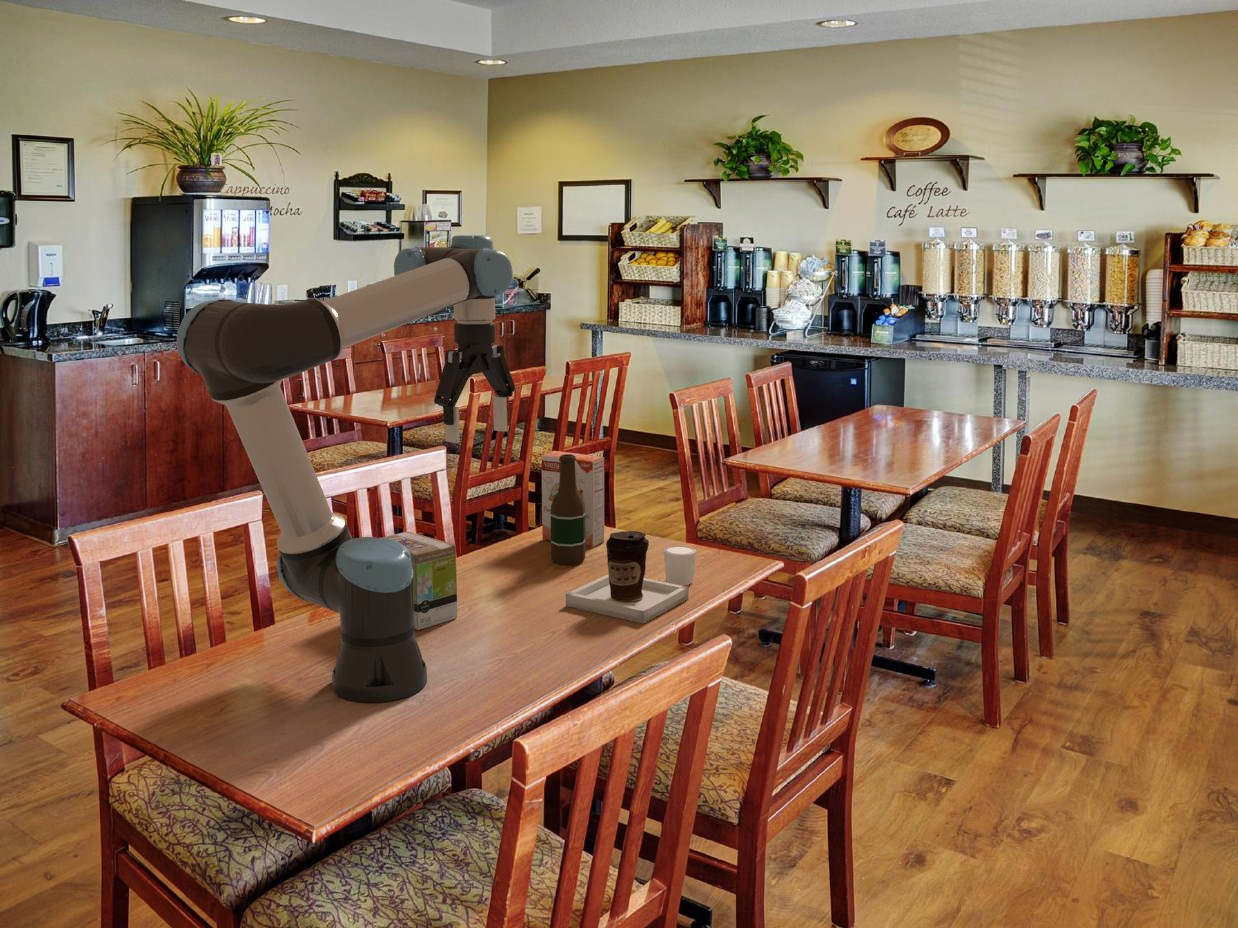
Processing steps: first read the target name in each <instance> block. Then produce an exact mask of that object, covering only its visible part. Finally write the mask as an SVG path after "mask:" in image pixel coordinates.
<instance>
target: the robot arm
mask: <svg viewBox="0 0 1238 928" xmlns="http://www.w3.org/2000/svg"><path fill="white" fill-rule="evenodd" d="M513 272H514V271H513V266H512V262H511V260H510V258H509V257H508V256H507V255H506V254H505V253H504V252H503V251H500V250H497V249H494V241H493V239H492V238H491V236H488V235H483V234H482V235H481V234H480V235H477V234H475V235H472V234H469V235H463V234H462V235H461V234H460V235H454V236H452V237H451V245H450V246H447V247H446V246H444V247H443V246H442V247H440V246H439V247H438V246H430V247H429V246H425V247H423V246H421V247H420V246H415V247H407V248H403V249H401V250H400V251H399V252H398V253H397V254H396V256H395V258H394V262H393V274H394V275H393V276H390V277H389V278H386V279H383V280H380V281H376V282H374V283H370V284H368V285H365V286H363V287H360V288H357V289H354V290H351V291H347V292H345V293H342V294H340V295H337V296H333V297H331V298H328V299H326V300H321V299H319V298H317V297H309V298H306V299H303V300H301V301H297V302H291V303H283V304H281V303H280V304H279V303H278V304H276V303H275V304H273V303H272V304H271V303H270V304H269V303H268V304H267V303H255V302H245V301H244V302H243V301H235V300H233V299H228V298H227V299H225V298H223V299H221V298H220V299H216V300H215V299H214V300H212V299H211V300H206V301H204V302H200V303H199V304H196V305H195V306H193V307H192V308H191V309H189V311H188V312H187V313H186V314H185V315H184V316H183V318H182V320H181V323H180V324H179V327H178V328H177V332H176V347H177V348H176V349H177V351H178V354H179V357H180V358H181V359H180V360H182V362H183V363H184V364H185V366H186V367H188V368H189V369H190V370H191V371H192V372H194V373H196V374H199V375H200V376H201V378H202V380H203V382H204V385H205V387H206V389H207V391H208V394H209V396H210V399H211V400H212V401H214V402H216V403H219V404H221V405H223V406H225V407H226V408H227V410H228V414H229V416H230V418H231V419H232V420H231V421H232V423H233V424H234V427H235V429H236V432H237V433H238V436H239V438H240V440H241V443H242V445H243V447H244V449H245V452H246V455H247V457H248V459H249V461H250V463H251V466H252V468H253V470H254V473H255V474H256V477H257V479H258V481H259V484H260V487H261V489H262V491H263V493H264V495H265V497H266V500H267V502H268V505H269V507H270V509H271V511H272V514H273V517H274V519H275V521H276V522H277V525H278V527H279V530H280V534H279V536H278V538H277V540H276V546H277V550H278V554H279V555H278V558H276V571H277V574H278V578H279V580H280V582H281V584H282V585H283V586H284V588H285V589H286V590H287V591H288V592H289V593H291V594H293V595H294V596H296V597H297V598H298V599H301V600H303V601H305V602H309V603H312V604H314V605H317V606H319V607H322V608H325V609H328V610H330V611H332V612H334V613H338V614H339V621H340V623H339V624H340V639H341V640H340V645H339V646H340V647H339V649H338V653H337V657H336V660H335V666H334V668H333V671H332V672H331V673H332V674H331V683H332V684H331V685H332V687H331V688H332V691H333V692H334V694H335V695H336V696H338V697H340V698H342V699H344V700H349V701H352V702H357V703H359V702H360V703H383V702H391V701H397V700H400V699H403V698H406V697H409V696H412V695H414V694H416V693H418V692H419V691H421V690H422V689H424V688H425V686H426V685H427V683H428V670H427V668H428V667H427V665H426V662H425V661H424V660H423V655H422V652H421V650H420V646H419V644H418V642H417V638H416V634H415V629H414V599H413V575H414V572H413V568H412V561H411V555H410V553H409V551H408V550H407V548H406V547H405V546H403V545H402V544H400V543H398V542H396V541H394V540H391V539H386V538H382V537H380V538H381V539H378V538H379V537H376V536H361V537H354V538H353V537H352V534H351V532H350V529H349V526H348V525H347V522H346V520H345V518H344V516H342V515H341V514H337V513H336V512H332V510H331V507H330V506H329V502H328V501H327V498H326V495H325V493H324V491H323V488H322V486H321V484H320V481H319V479H318V476H317V474H316V470H315V469H314V467H313V464H312V461H311V459H310V456H309V454H308V451H307V449H306V447H305V444H304V442H303V439H302V437H301V434H300V432H299V429H298V427H297V424H296V422H295V419H294V417H293V414H292V412H291V409H290V407H289V405H288V401H287V400H286V398H285V396H284V393H283V390H282V388H281V383H282V382H283V380H285V379H289V378H291V377H294V376H297V375H300V374H303V373H304V372H307V371H309V370H312V369H314V368H317V367H319V366H322V365H324V364H327V363H329V362H333V361H334V360H337V359H338V358H339V357H340V355H341V353H342V351H343V349H346V348H348V347H351V346H353V345H356V344H358V343H362V342H363V341H367V340H368V339H369V340H370V339H372V338H374V337H377V336H379V335H381V334H383V333H386V332H389V331H391V330H394V329H397V328H400V327H401V326H404V325H407V324H410V323H412V322H415V321H417V320H419V319H422V318H425V317H427V316H430V315H432V314H435V313H438V312H440V311H442V310H445V309H449V308H450V307H453V319H454V320H455V321H457V322H455V323H454V325H453V341H454V343H455V344H457V351H456V350H455V351H454V350H446V352H445V353H444V364H443V368H442V372H441V375H440V378H439V381H438V382H439V383H438V385H437V389H436V392H435V395H434V399H433V402H434V404H435V405H438V406H439V407H441V408H442V411H443V412H442V417H443V424H444V428H445V431H444V432H445V442H447V443H454V444H459V443H461V441H460V438H461V436H460V406H456V405H457V402H458V400H459V399H460V396H461V395H462V393H463V390H464V389H465V386H466V384H467V383H468V381H469V378H471V377H472V376H473V375H475V374H479V373H482V374H483V376H484V377H485V379H486V381H487V382H488V384H489V385H490V387H491V388H492V391H493V392H494V393H495V396H492V410H493V412H492V413H493V423H492V424H493V431H497V432H508V411H509V405H508V404H509V401H508V400H509V398H511V397H513V393H515V391H516V386H515V382H514V380H513V377H512V374H511V372H510V368H509V365H508V362H507V359H506V358H505V347H504V345H501V344H494V343H495V342H496V340H497V339H496V324H495V323H494V322H493V321H494V320H495V319H496V297H495V296H500V295H502V294H504V293H506V291H507V290H508V289H509V288H510V286H511V284H512V282H513V281H512V280H513Z"/></svg>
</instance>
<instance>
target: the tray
mask: <svg viewBox="0 0 1238 928" xmlns="http://www.w3.org/2000/svg"><path fill="white" fill-rule="evenodd" d="M689 591H690V588H689V586H681V585H676V584H671V583H667V582H666V581H661V580H657V579H651V578H645V577H644V579H643V585H642V594H643V598H642V599H641V600H637V601H618V600H614V599H612V598H611V594H610V593H611V591H610V584H609V573H607V574H606V575H603V576H601V577H599V578H597V579H594V580H592V581H590V582H589V583H586V584H584V585H581V586H580V587H578V588H576V589H573V590H571V591H568V592H567V593H565V607H569V608H573V609H577V610H581V611H585V612H586V611H587V612H590V613H595V614H600V615H604V616H607V617H612V618H617V619H621V620H625V621H629V622H633V621H634V622H635V623H639V624H642V625H643V623H644V624H646V623H648V622H649V620H650V619H651V620H653V619H655V618H657V617H658V615H659V616H660V615H663V614H664V613H666V612H668V611H669V610H672V609H673V608H675V607H676V605H677V606H679V605H680V604H682V603H683V602H682V601H684V602H686V601H687V599H688V600H689V597H690V596H689ZM685 600H686V601H685ZM681 602H682V603H681ZM679 603H680V604H679ZM678 604H679V605H678ZM667 610H668V611H667ZM656 616H657V617H656ZM651 620H650V621H651ZM647 621H648V622H647Z"/></svg>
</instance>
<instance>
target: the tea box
mask: <svg viewBox="0 0 1238 928" xmlns="http://www.w3.org/2000/svg"><path fill="white" fill-rule="evenodd" d="M377 538H378V539H381V538H386V539H391V540H394V541H396V542H398V543H400V544H402V545H403V546H405V547H406V548H407V550H408V551H409V553H410V555H411V561H412V568H413V572H414V575H413V599H414V630H417V631H419V630H423V629H427V628H430V627H434V626H437V625H440V624H443V623H447V622H450V621H452V620H454V619H457V618H458V587H457V586H458V584H457V581H458V580H457V575H458V574H457V552H456V551H457V549H456V548H457V547H456V546H457V545H456V544H455V543H450V542H448V541H443V540H439V539H436V538H433V537H430V536H425V535H422V534H418V533H416V532H411V531H404V532H399V533H395V534H391V535H388V536H383V537H377Z"/></svg>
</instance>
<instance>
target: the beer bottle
mask: <svg viewBox="0 0 1238 928" xmlns="http://www.w3.org/2000/svg"><path fill="white" fill-rule="evenodd" d="M575 460H576V457H575V456H574V455H572V454H564V455H561V456H560V459H559V461H560V481H559V489H558V493H557V494H556V496H555V497H554V499H553V502H552V505H551V541H550V558H551V559H550V560H551V562H552V563H554V564H556V565H559V566H569V567H570V566H575V565H576V566H577V565H580V564H583V562H584V561H585V559H586V550H587V549H586V548H587V547H586V535H585V504H584V501H583V498H582V496H581V495H580V494H579V492H578V490H577V485H576V471H575Z"/></svg>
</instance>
